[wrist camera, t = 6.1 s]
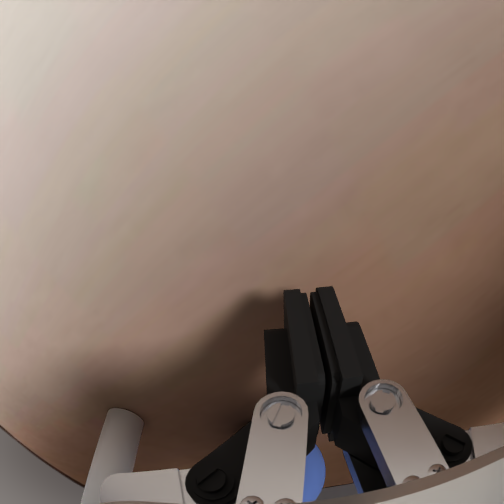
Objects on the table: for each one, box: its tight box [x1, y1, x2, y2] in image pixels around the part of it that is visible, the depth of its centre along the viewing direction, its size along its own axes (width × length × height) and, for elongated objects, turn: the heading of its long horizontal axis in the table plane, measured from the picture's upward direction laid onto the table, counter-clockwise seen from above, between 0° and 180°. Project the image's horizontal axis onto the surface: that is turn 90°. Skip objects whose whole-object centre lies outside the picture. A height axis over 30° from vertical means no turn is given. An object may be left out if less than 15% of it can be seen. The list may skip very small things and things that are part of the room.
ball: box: [302, 444, 325, 502], centre depth 15 cm, size 6×6×6 cm
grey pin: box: [80, 408, 144, 504], centre depth 13 cm, size 2×2×8 cm
